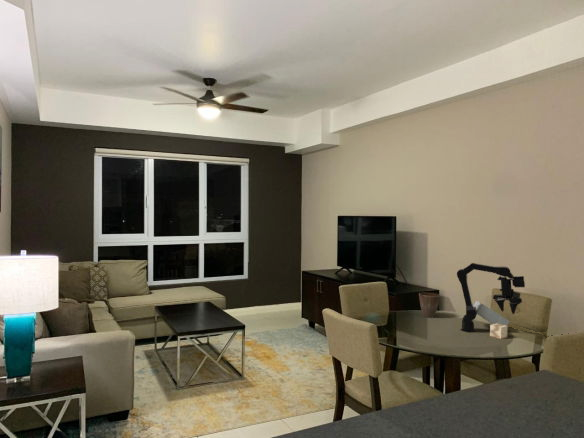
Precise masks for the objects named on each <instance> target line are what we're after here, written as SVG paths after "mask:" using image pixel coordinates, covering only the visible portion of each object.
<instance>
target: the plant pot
mask: <svg viewBox="0 0 584 438" xmlns="http://www.w3.org/2000/svg"><path fill="white" fill-rule="evenodd" d="M418 298H419V305H420V310H421V313H422V316H423V317H424V318H431V319H432V318H433V319H434V317H435V316H436V313H437V311H438V308H439V304H440V300H441V294H439V293H435V292H434V293H433V292H419V293H418Z"/></svg>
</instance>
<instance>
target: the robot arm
mask: <svg viewBox="0 0 584 438" xmlns="http://www.w3.org/2000/svg"><path fill="white" fill-rule="evenodd" d="M474 270H477V271H481V272H485V273H487V272H488V273H492V274H493V273H494V274H496V275H499V277H498V278H497V281H500V287H501V288H499V291H501V293H498V294H493V296H492V299H493V300H494V302H496V303H495V304H497V305H498V307H499V309H500V311H501V312H504V311H505V301H508V302H509V303H508V304H509V307H510V311H511V314H512V315H514V314H516V310H517V307H518V305H520V304H521V303H523V299H522V298H521V297H520V296H521V293H520V292H517V291H514V288H525V287H526V286H525V285H526V284H525V276H523V275H521V276H520V275H519V276H514V274H513V273H512V272H511V269H510V267H508V266H493V265H486V264H480V263H476V262H472V263H470V264H469V265H468V266H466V267H464V268H461V269H458V270H457V272H456V277H457V279H458V281H459V283H460V285H461V290H462V294H463V299H464V302H465V314H464V315H463V317H462V320H461V328H460V330H459V331H462V332H463V331H464V332H466V333H472V332H475V323H474V321H473V320H475V319H476V317H477V315H478V314H477V311H476V306H475V307H474V306H473V305H474V304H473V302H472V296H471V293H470V288H469V284H468V274H470V272H473V271H474ZM513 286H514V288H513Z"/></svg>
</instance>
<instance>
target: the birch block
mask: <svg viewBox="0 0 584 438" xmlns="http://www.w3.org/2000/svg"><path fill="white" fill-rule="evenodd" d="M489 337H491V338H492V337H493V338H495V339H496V338H497V339H500V340H502V339H506V338H508V325H507V326H506V325H501V324H497V323H496V324H490V326H489Z"/></svg>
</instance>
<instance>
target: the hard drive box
mask: <svg viewBox="0 0 584 438" xmlns="http://www.w3.org/2000/svg"><path fill="white" fill-rule="evenodd" d="M473 306H474V307H475V306H476V311H477V315H478V316H479V317H480V318H482V319H484V320H486V321H487V322H488V323H490V325H492V324H496V323H497V324H501V325H506V326H508V325H509V324H510V322H511V321H510V320H508V319H507V318H506V317H504V316H502V315H500V314H499V312H498V313H497V312H496V311H494V310H493V309H491V308H490V307H488V306H486V305H485V304H484V303H482V302H480V301H479V300H476V301H475V303H474V304H473Z"/></svg>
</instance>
